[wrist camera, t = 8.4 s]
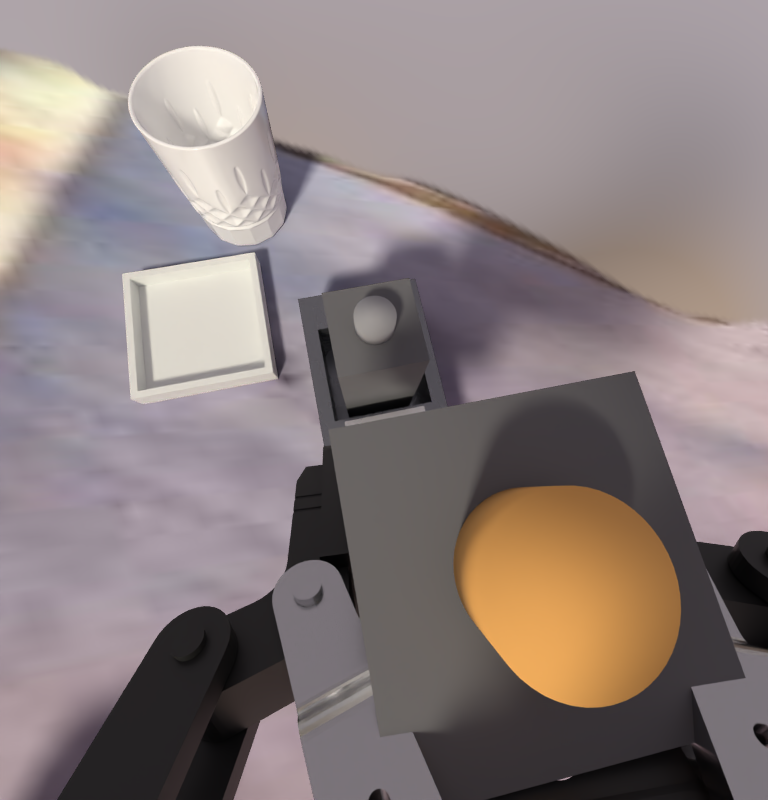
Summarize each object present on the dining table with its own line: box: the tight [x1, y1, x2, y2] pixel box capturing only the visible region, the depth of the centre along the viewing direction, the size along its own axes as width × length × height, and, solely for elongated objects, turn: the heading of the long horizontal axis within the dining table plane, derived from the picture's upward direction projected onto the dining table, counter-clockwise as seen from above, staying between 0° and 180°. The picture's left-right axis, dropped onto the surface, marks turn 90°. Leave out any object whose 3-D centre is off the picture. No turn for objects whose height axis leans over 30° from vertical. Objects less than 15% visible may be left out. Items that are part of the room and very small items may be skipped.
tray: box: [122, 252, 278, 404], centre depth 30 cm, size 10×10×2 cm
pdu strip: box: [298, 279, 448, 622], centre depth 26 cm, size 8×20×5 cm, turn 12°
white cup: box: [128, 46, 287, 246], centre depth 28 cm, size 8×8×10 cm
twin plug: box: [322, 278, 430, 417], centre depth 23 cm, size 4×4×11 cm
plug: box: [328, 371, 746, 800], centre depth 9 cm, size 4×4×11 cm
